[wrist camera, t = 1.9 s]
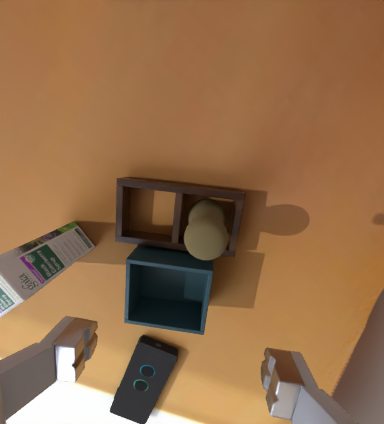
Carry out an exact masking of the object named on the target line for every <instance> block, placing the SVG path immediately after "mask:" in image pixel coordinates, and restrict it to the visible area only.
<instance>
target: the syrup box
mask: <svg viewBox="0 0 384 424" xmlns="http://www.w3.org/2000/svg"><path fill="white" fill-rule="evenodd" d="M94 248H95V246H94V244H92V242H91V241H90V240H89V238H88V237H87V236H86V235H85V233H84V232H83V231H82V230H81V228H80V227H79V226H78V225H77V223H76V222H72V223H69V224H67V225H65V226H63V227H61V228H59V229H56V230H54V231H52V232H50V233H48V234H46V235H43V236H41V237H39V238H37V239H35V240H33V241H30V242H28V243H26V244H24V245H22V246H19V247H17V248H15V249H13V250H10V251H8V252H6V253H4V254H2V255H0V318H1V317H2V316H4V315H5V314H6V313H8V312H9V311H11V310H12V309H14V308H15V307H16V306H18V305H19V304H21V303H22V302H24V301H25V300H27V299H28V298H30V297H31V296H32V295H34V294H35V293H36V292H38V291H39V290H40V289H42V288H43V287H44V286H45V285H47V284H48V283H49V282H50V281H52V280H53V279H54V278H56V277H57V276H58V275H59V274H61V273H62V272H63V271H64V270H66V269H67V268H68V267H70V266H71V265H72V264H73V263H75V262H76V261H77V260H79V259H80V258H81V257H83V256H84V255H86V254H87V253H88V252H90V251H91V250H92V249H94Z"/></svg>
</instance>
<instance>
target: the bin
mask: <svg viewBox="0 0 384 424" xmlns="http://www.w3.org/2000/svg"><path fill="white" fill-rule="evenodd" d="M212 276H213V259H212V260H201V259H198V258H195V257H194V256H193V255H191V254H190V253H189V251H184V250H177V249H169V248H162V247H154V246H147V245H138V246H137V247H136V248H135V250H134V251H133V252H132V253H131V254H130V256H129V257H128V258H127V259H126V288H125V318H124V319H125V320H124V323H129V324H136V325H142V326H149V327H155V328H162V329H168V330H175V331H181V332H188V333H194V334H201V335H204V330H205V323H206V317H207V310H208V303H209V297H210V290H211V283H212Z"/></svg>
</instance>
